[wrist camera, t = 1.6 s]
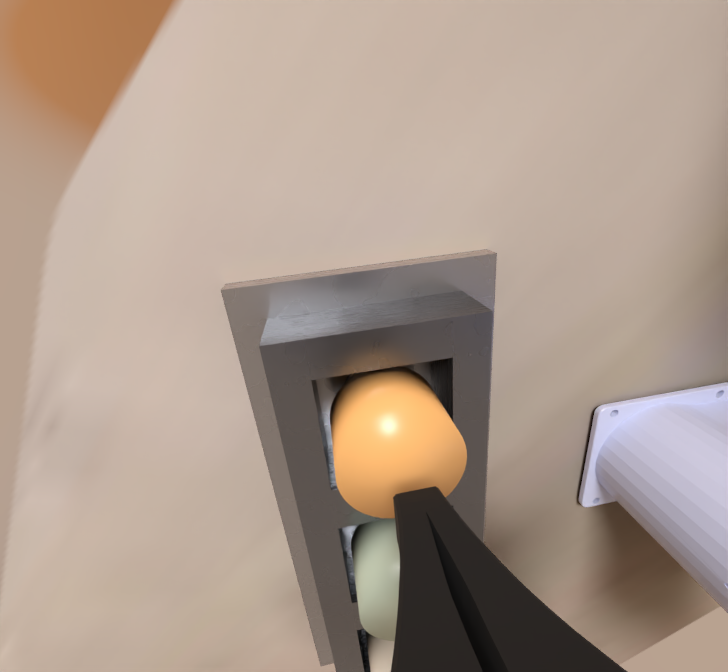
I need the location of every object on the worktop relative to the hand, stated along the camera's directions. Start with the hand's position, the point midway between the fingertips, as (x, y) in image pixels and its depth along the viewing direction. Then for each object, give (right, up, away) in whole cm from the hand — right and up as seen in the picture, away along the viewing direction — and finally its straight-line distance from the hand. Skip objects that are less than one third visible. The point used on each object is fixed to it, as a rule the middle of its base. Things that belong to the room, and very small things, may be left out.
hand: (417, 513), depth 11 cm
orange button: (-1, +2, +5) cm, 5 cm away
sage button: (0, -5, +8) cm, 10 cm away
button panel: (0, -4, +11) cm, 12 cm away
